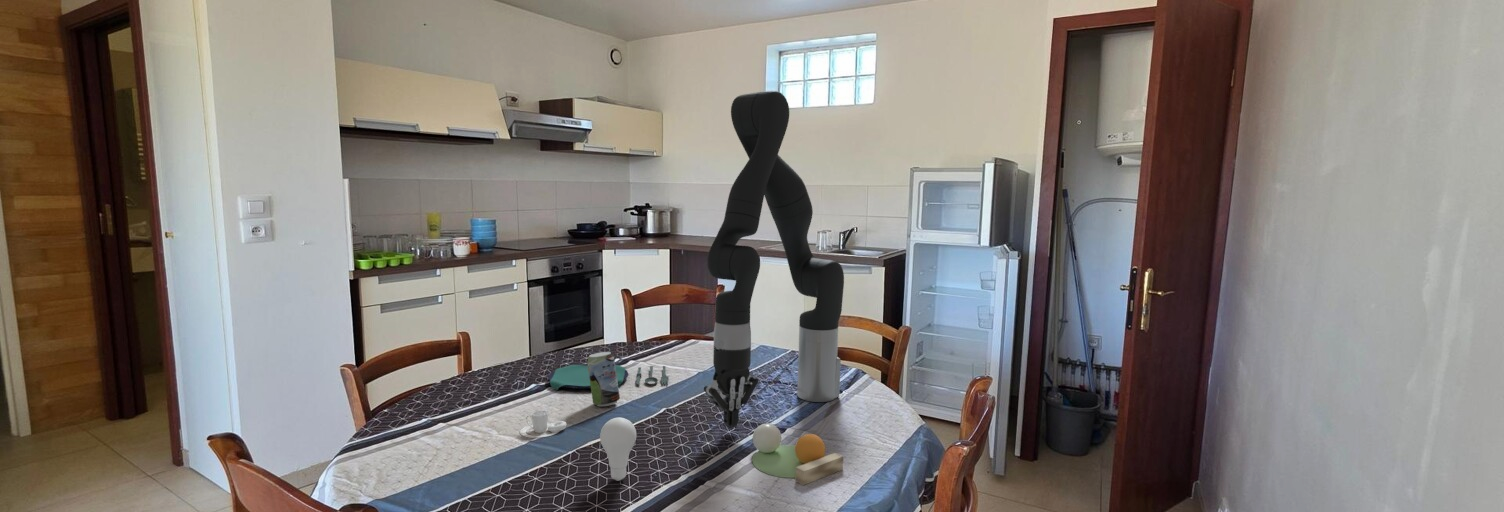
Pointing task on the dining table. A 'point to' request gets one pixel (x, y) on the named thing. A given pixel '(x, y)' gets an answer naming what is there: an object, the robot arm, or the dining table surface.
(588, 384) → the cutlery set
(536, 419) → the teacup and saucer
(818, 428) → the dining table surface
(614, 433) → the lightbulb
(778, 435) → the white ball
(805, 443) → the orange ball
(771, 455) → the green mark
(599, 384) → the beverage can
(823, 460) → the stopper wall
